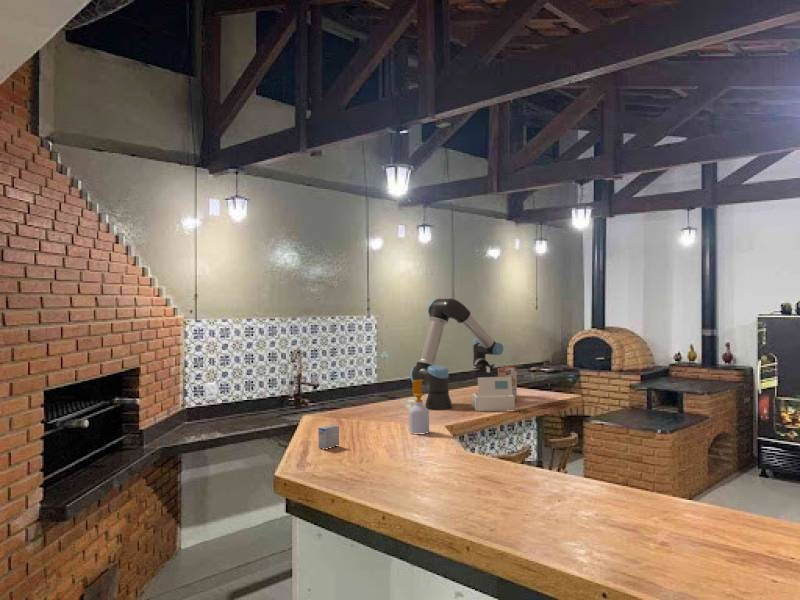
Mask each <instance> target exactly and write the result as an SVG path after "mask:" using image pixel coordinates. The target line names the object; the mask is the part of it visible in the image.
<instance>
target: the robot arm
mask: <svg viewBox="0 0 800 600" xmlns="http://www.w3.org/2000/svg"><path fill="white" fill-rule="evenodd" d="M427 313H428V315H429V317H428V320H429V321H430V323H429V327H428V331H427V335H426V337H425V341H424V345H423V349H422V353H421V357H420V359H419V360H417V361H416V364H415V366H413V367H412V368H411V369H410V372H409V377H410V380H411V382H412V383H413V381H414V380H424V381H422V382H421V388H422V387H423V388H427V391H428V392H427V397H426V401H425V404H424V407H426V408H427V409H428V410H431V409H432V410H433V411H442V410H443V411H445V410H450V409H452V408H453V402H452V399H451V396H450V391H449V388H450V387H449V384H450V383H449V381H450V380H449V369H448V368H447V367H445V366H443V365H437V364H435V363H436V362H435V361H436V358H437V355H438V351H439V346H440V344H441V340H442V336H443V332H444V328H445V325H447V324H448V323H449V320H450V319H452V320H455V321H456V322H457V323H458V324H462V326H463V327H464V329H466V330H467V331H468V332H469V333H470V334H471V335H472V336H473V338H474V339H473V342H472V348H473V349H472V350H473V352H472V353H473V360H472V365H473V370H476V371H479V372H481V373H491V371H494V369H495V366H496V365H495V363H493V364H492V363H491V364H490V363H489V362H488V361H487V360H486V355H489V356H490V355H491V356H500V355H502V354H503V352H504V346H503V344H502V343H501V342H497V341H495V339H493V338H492V337H491V335H490V334H489V333H488V332H487V331H486V330H485V328H483V326H482V325H481V324H480V323H479V322H478V321H477V320H476V319H475V318H474V317H473V316H472V315H471V311H470V310H469V309H468V308H467V307H466V305H464V304H463V303H462V302H461V301H459V300H458V299H456V298H452V297H451V298H436V299H435V298H434V299H433V300H431V302H429V304H428V306H427ZM432 410H431V411H432Z"/></svg>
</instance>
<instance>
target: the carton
mask: <svg viewBox="0 0 800 600" xmlns="http://www.w3.org/2000/svg"><path fill="white" fill-rule="evenodd" d="M471 399H472V401H471V404H472V405H471V406H473V407H472V408H473V409H474V411H475V412H477V411H487V412H508V411H507V410H514V411H516V401H515V396H514V395H505V396H479V391H477V392H476V391H475V392H472V393H471Z"/></svg>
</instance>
